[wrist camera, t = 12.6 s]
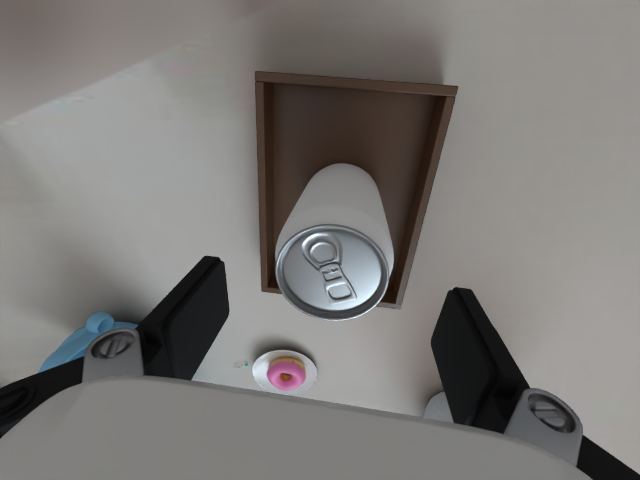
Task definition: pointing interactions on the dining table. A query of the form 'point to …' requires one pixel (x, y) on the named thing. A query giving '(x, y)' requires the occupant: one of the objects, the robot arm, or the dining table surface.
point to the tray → (349, 153)
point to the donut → (284, 372)
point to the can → (335, 246)
